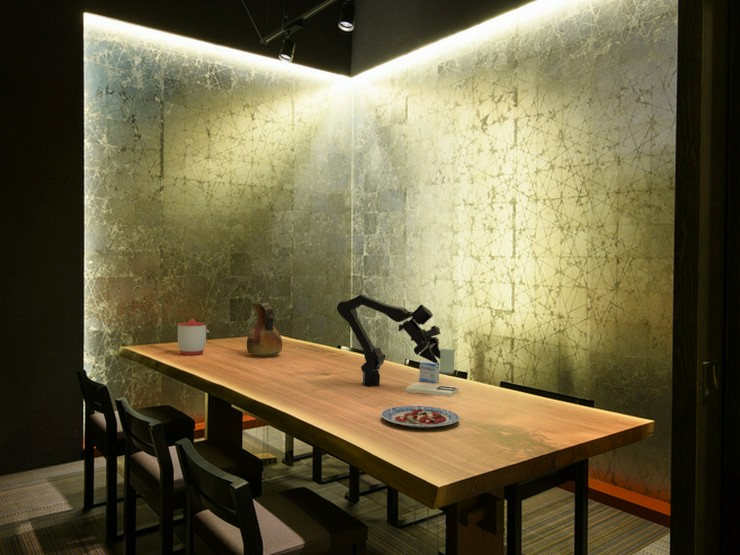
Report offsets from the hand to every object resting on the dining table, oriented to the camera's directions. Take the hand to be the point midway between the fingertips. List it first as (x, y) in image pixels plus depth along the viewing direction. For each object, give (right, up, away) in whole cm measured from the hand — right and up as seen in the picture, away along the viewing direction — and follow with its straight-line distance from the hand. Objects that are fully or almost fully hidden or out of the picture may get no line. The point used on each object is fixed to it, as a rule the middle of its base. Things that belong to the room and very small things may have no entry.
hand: (440, 361), depth 236 cm
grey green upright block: (+3, -5, -1) cm, 6 cm away
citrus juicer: (-128, -9, +87) cm, 155 cm away
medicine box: (-2, -13, +22) cm, 25 cm away
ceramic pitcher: (-88, -10, +86) cm, 123 cm away
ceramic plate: (-12, -14, -45) cm, 49 cm away
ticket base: (-3, -13, +1) cm, 13 cm away
